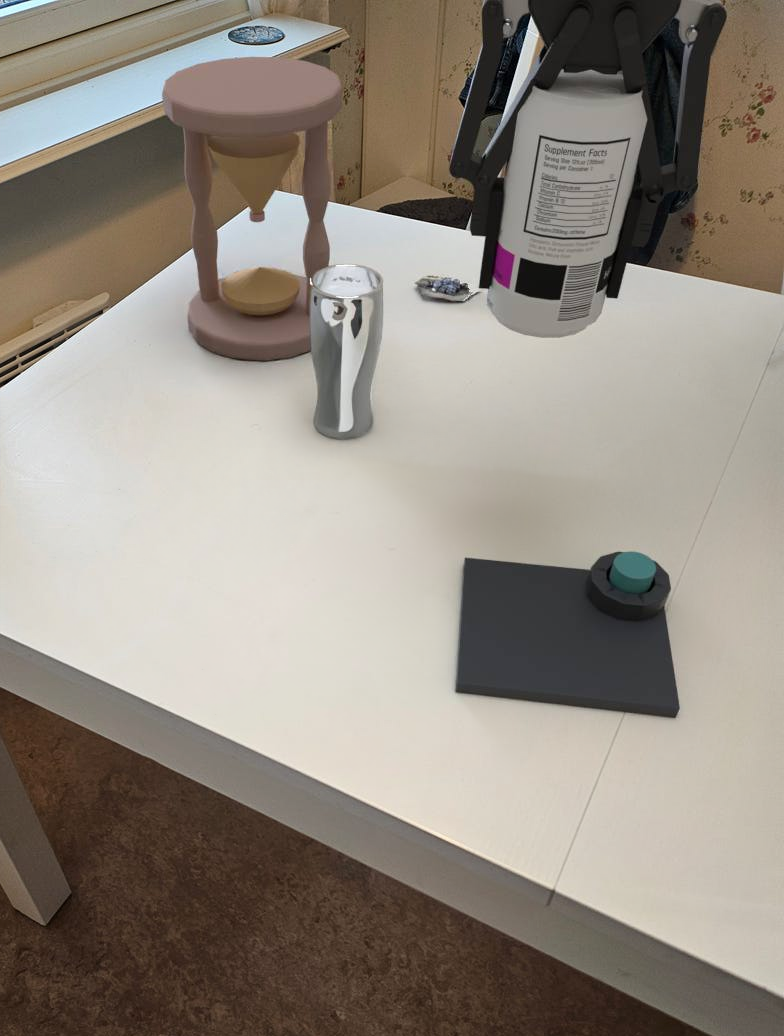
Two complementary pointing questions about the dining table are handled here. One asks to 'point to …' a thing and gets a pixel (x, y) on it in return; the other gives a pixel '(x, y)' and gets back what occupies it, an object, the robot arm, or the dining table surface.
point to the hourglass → (254, 191)
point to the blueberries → (443, 288)
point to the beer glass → (345, 346)
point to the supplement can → (565, 203)
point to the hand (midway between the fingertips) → (547, 284)
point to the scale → (565, 637)
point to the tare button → (632, 572)
